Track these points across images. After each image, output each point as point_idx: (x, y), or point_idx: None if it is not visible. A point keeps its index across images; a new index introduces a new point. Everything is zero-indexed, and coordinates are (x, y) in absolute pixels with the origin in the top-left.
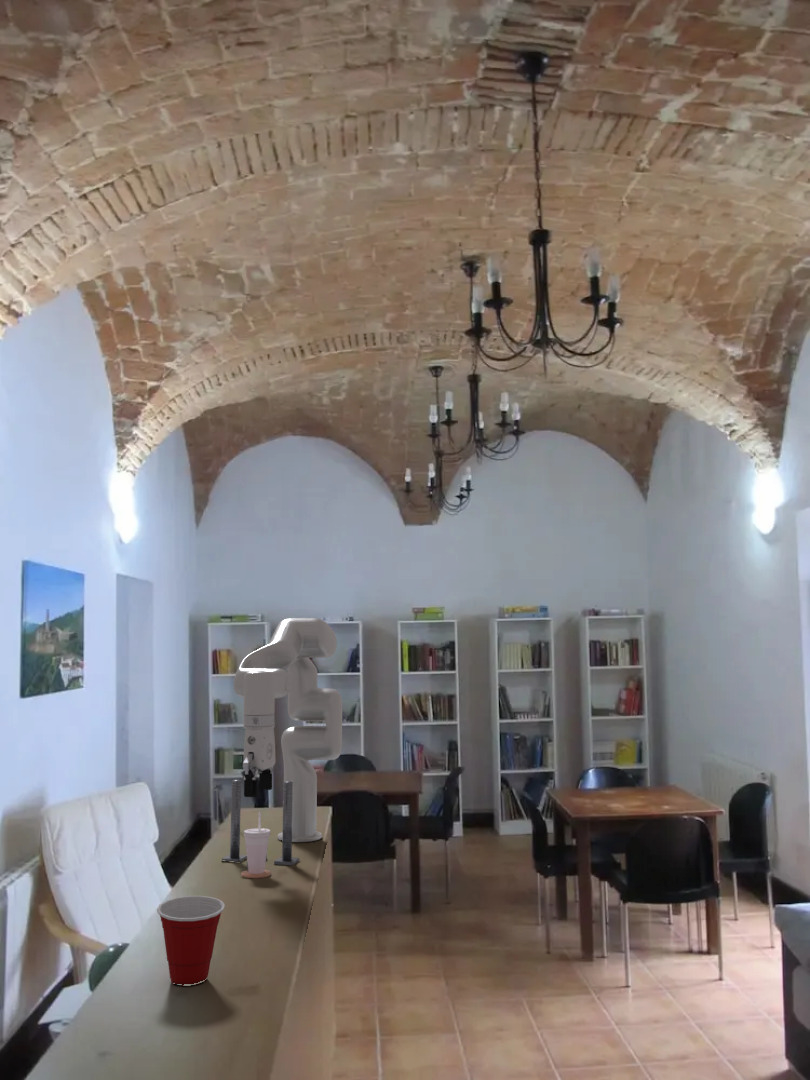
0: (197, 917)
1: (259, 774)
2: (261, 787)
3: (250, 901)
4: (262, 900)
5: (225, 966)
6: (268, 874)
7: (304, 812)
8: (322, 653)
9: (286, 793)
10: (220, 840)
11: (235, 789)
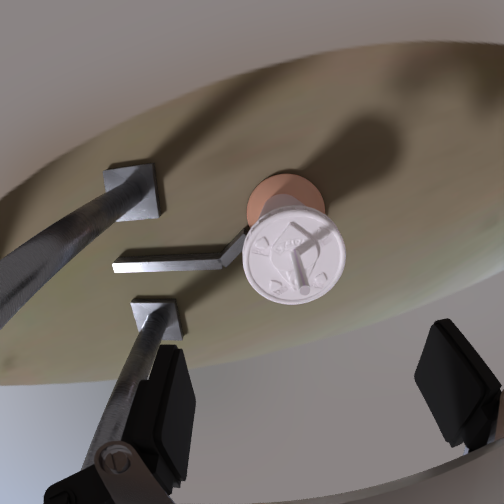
0: None
1: (180, 479)
2: (191, 400)
3: (485, 144)
4: (477, 122)
5: None
6: (293, 174)
7: None
8: None
9: (28, 280)
10: (53, 380)
11: None
